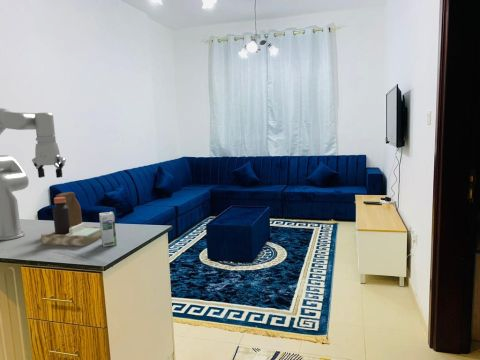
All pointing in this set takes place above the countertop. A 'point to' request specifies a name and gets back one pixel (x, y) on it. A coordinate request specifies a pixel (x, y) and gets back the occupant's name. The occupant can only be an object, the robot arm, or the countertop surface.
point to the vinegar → (61, 216)
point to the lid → (82, 230)
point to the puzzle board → (69, 239)
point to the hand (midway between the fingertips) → (50, 177)
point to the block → (72, 208)
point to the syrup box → (107, 229)
